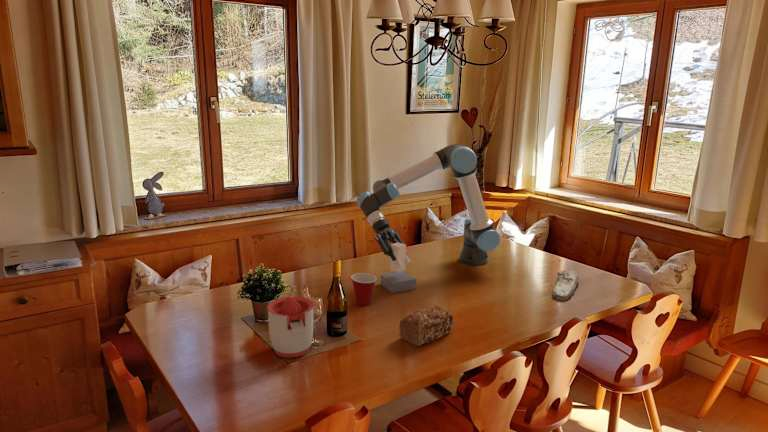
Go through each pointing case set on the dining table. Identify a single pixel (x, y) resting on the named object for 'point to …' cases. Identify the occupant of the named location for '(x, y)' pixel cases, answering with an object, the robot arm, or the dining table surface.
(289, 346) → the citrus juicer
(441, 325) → the bread
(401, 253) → the cream pillar block
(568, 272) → the stone
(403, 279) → the blue-grey flat block
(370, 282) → the plastic cup
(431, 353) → the dining table surface
